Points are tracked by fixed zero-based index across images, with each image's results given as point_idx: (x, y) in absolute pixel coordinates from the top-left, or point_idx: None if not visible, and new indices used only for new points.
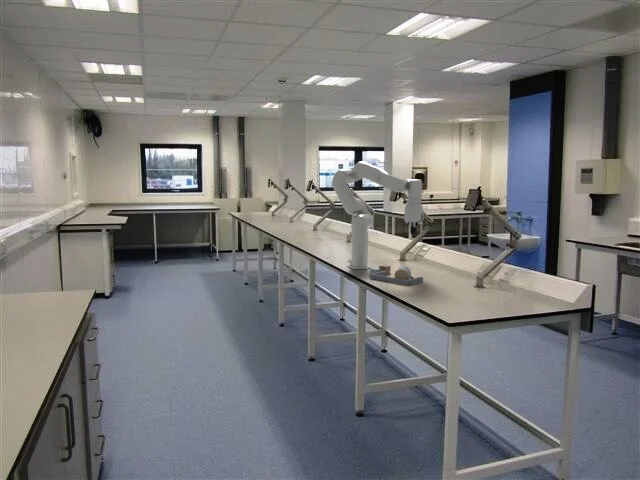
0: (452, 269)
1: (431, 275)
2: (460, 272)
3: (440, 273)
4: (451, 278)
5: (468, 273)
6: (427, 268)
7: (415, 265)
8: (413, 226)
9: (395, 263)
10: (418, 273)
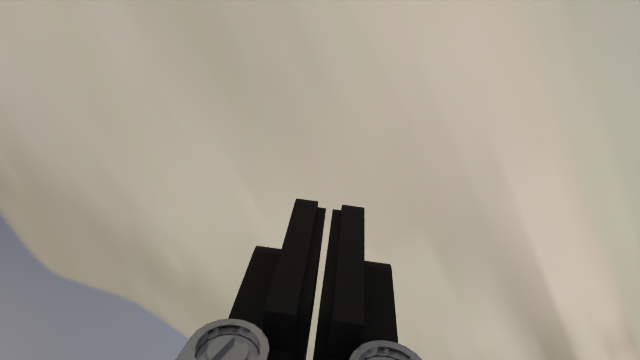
0: (191, 326)
1: (171, 52)
2: (104, 270)
3: (169, 167)
4: (8, 39)
5: (54, 268)
6: None
7: (440, 324)
8: (260, 350)
9: (597, 318)
10: (287, 63)
